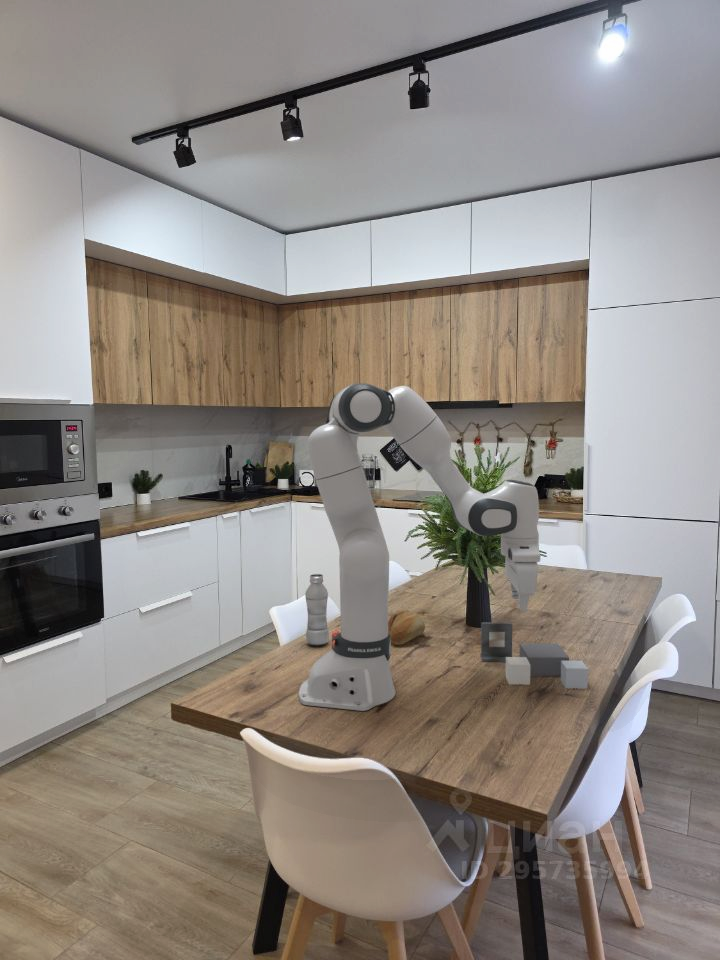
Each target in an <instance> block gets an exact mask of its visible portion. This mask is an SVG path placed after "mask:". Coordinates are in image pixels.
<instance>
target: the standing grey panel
mask: <svg viewBox="0 0 720 960" xmlns="http://www.w3.org/2000/svg"><path fill="white" fill-rule="evenodd" d="M480 626H481V629H480V631H481V632H480V633H481V634H480V635H481V636H480V638H481V639H480V640H481V641H480V653H479V654H480V659H481V662H482V663H483V662H492V663H495V662H496V663H500V662H501V663H506V657H513V623H512V622H481V625H480Z"/></svg>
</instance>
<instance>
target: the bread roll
mask: <svg viewBox="0 0 720 960" xmlns="http://www.w3.org/2000/svg"><path fill="white" fill-rule="evenodd" d="M425 629H426V624H425V622H424V620H423V618H422V617H421V615H419V614H417V613H415V612H412V611H409V610H400V611H398V612H395V613H393V614H392V615H391V616H390V617H389V618H388V633H389V634H390V639H391V644H394V645H399V646H400V645H403V644H406V643H407V642H409V641H411V640H413V639H416V638H418V637H420V636H421V635H422V634H423V633H424V632H425Z"/></svg>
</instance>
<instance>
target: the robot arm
mask: <svg viewBox="0 0 720 960" xmlns="http://www.w3.org/2000/svg"><path fill="white" fill-rule="evenodd" d="M380 428H383V429H384V430H385V431H387V432H388V433H389V434H391V436H392V437H393V439H394V440H395V442H396V443H397V444H398V445H399V446H400V448H401V449H402V450H403V451H404V452H405V453H406V455H407V456H408V457H409V458H410V459H411V460H412V461H414V462H415V463H416V464H417V465H419V467H421V468H422V469H423V470H425V472H427V474H429V475H430V477H431V478H432V479H433V480H434V482H435V483H436V485H437V486H438V487H439V489H440V490H441V491H442V492H443V494H444V495H445V497H446V498H447V500H448V501H449V506H450V509H451V513H452V516H453V519H454V521H455V522H456V524H458V526H460V527H461V528H463V529H465V530H467V531H470V532H472V533H474V534H476V535H478V536H480V537H492V536H493V537H494V536H498V535H500V555H502V556H504V557H505V560H504V561H505V562H504V563H505V565H504V567H505V568H504V572H505V576H506V577H507V579H508V580H509V585H510V589H511V592H510V593H511V594H510V595H511V598H512V599H513V600H519V601H518V609H519V610H520V611H527V610H528V603H529V600H530V596H534V595H535V594H536V591H537V586H538V585H537V584H538V583H537V582H538V573H539V572H538V569H539V565H538V563H539V562H541V552H540V547H539V546H540V537H539V536H540V535H539V534H540V533H539V531H538V523H539V518H540V504H539V502H540V501H539V494H538V489H537V487H536V486H535V485H533V484H532V483H530V482H525V481H523V480H515V479H507V480H505V481H503V482H502V484H500V485H499V486H497V487H496V488H494V489H491V490H490V491H488V492H486V493H483V491H479V490H478V489H476V488H474V487H473V486H471V485H470V484H469V482H468V481H467V480H466V478H465V476H464V475H462V473H461V471H460V470H459V469H458V467H457V466H456V465H455V463H454V461H453V459H452V457H451V449H452V448H451V447H452V438H451V435H450V433H449V432H448V430H447V427H446V426H445V424H444V422H442V420H441V418H440V417H439V416H438V415H437V414H436V412H435V411H434V410H433V409H432V407H431V406H430V405H429V404H428V403H427V402H426V401H425V400H424V399H423V398H422V396H421V395H420V394H418V393H417V392H416V391H415V390H414V389H412V387H409V386H407V385H399V386H395V387H393V388H391V389H389V390H388V391H386V390H385V389H382V388H380V387H378V386H376V385H372V384H370V383H362V382H361V383H360V382H359V383H355V384H349V385H346V386H345V387H343V388H342V389H340V390H339V391H338V392H337V393H336V394H335V395H334V396H333V398H332V399H331V401H330V404H329V408H328V413H327V417H326V423H325V424H323V425H320V426H319V427H318V426H317V428H315V429H314V430H313V431H312V432H311V433H310V435H309V436H308V443H307V445H308V452H309V453H308V454H309V457H310V458H309V460H310V463H311V468H312V472H313V475H314V479H315V482H316V485H317V488H318V492H319V496H320V499H321V501H322V504H323V508H324V511H325V514H326V516H327V519H328V521H329V523H330V526H331V529H332V531H333V534H334V537H335V539H336V542H337V546H338V551H339V557H338V558H339V560H338V561H339V562H338V563H339V565H338V566H339V596H340V597H339V598H340V601H339V602H340V604H339V605H340V606H339V607H340V608H339V609H340V611H339V612H340V630H337V629H336V630H333V632H332V634H331V639H332V640H331V650H329V651H328V652H327V653H325V654H324V655H322V656H321V657H320V658H318V659H317V660H316V661H315V662H314V663H313V665H312V667H311V669H310V671H309V675H308V678H307V679H306V680H304V681H303V682H302V683H301V685H300V686H299V691H298V699H299V702H300V703H301V704H302V705H304V706H312V707H321V708H332V709H341V710H342V709H343V710H351V711H360V712H365V711H368V710H370V709H372V708H375V707H376V706H379V705H382V704H385V703H388V702H390V701H391V700H392V699H394V698H395V696H396V693H397V692H396V688H395V686H394V682H393V677H392V672H391V664H390V659H391V655H392V654H391V652H392V642H391V639H390V634H389V633H388V621H389V593H390V592H389V589H390V552H389V549H388V545H387V542H386V539H385V535H384V533H383V529H382V526H381V523H380V519H379V516H378V513H377V509H376V506H375V503H374V500H373V497H372V494H371V493H372V492H371V490H370V487H369V483H368V480H367V477H366V474H365V469H364V467H363V465H362V461H361V458H360V456H359V453H358V450H359V449H358V439H359V436H360V435H362V434H365V433H369V432H372V431H374V430H377V429H380Z"/></svg>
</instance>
